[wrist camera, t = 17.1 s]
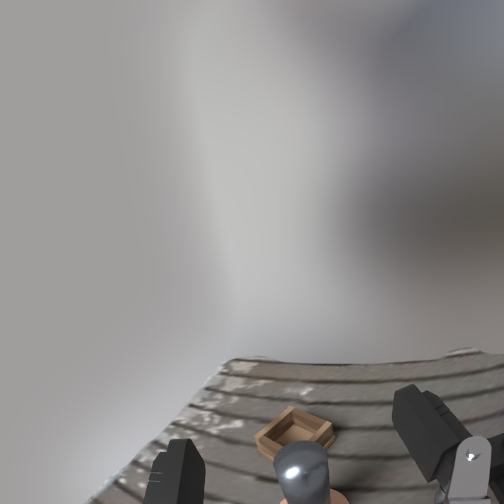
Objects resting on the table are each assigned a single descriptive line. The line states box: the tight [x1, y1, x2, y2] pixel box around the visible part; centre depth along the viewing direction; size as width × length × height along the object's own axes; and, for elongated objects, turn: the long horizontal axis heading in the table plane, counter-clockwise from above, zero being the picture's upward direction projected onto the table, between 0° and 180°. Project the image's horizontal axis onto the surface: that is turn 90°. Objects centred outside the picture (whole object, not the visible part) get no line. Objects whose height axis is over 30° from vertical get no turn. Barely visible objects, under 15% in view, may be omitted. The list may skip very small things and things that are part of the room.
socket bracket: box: [254, 406, 336, 462], centre depth 37 cm, size 9×9×4 cm
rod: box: [273, 440, 331, 504], centre depth 21 cm, size 5×5×16 cm
